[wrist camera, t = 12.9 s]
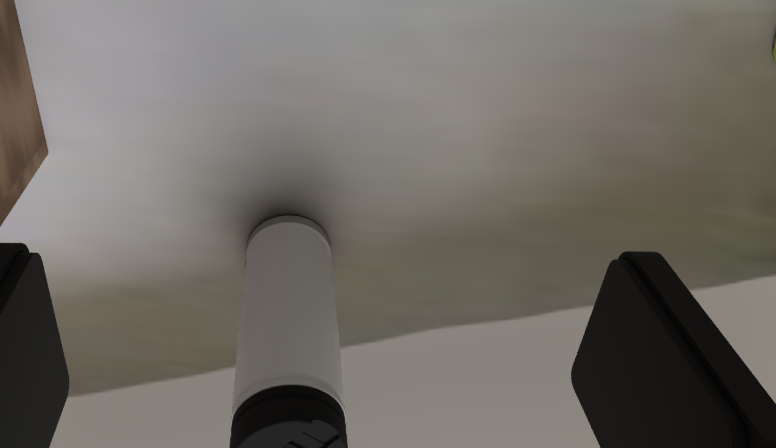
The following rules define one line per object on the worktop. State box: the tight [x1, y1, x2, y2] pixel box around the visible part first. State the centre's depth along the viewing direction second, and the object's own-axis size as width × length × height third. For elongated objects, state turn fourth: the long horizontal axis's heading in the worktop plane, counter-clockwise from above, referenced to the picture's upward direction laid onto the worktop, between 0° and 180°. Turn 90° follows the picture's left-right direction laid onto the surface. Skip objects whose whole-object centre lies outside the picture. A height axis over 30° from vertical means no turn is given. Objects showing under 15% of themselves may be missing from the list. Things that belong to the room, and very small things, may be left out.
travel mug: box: [230, 215, 348, 448], centre depth 42 cm, size 6×7×20 cm
